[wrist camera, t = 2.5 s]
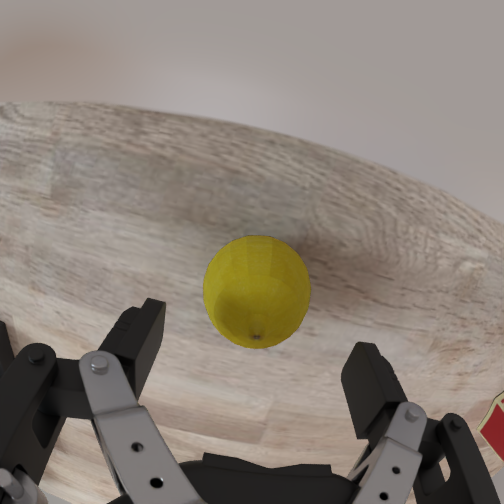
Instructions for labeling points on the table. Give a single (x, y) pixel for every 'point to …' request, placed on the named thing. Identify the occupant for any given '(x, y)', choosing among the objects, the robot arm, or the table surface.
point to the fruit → (256, 291)
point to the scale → (4, 350)
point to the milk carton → (494, 427)
